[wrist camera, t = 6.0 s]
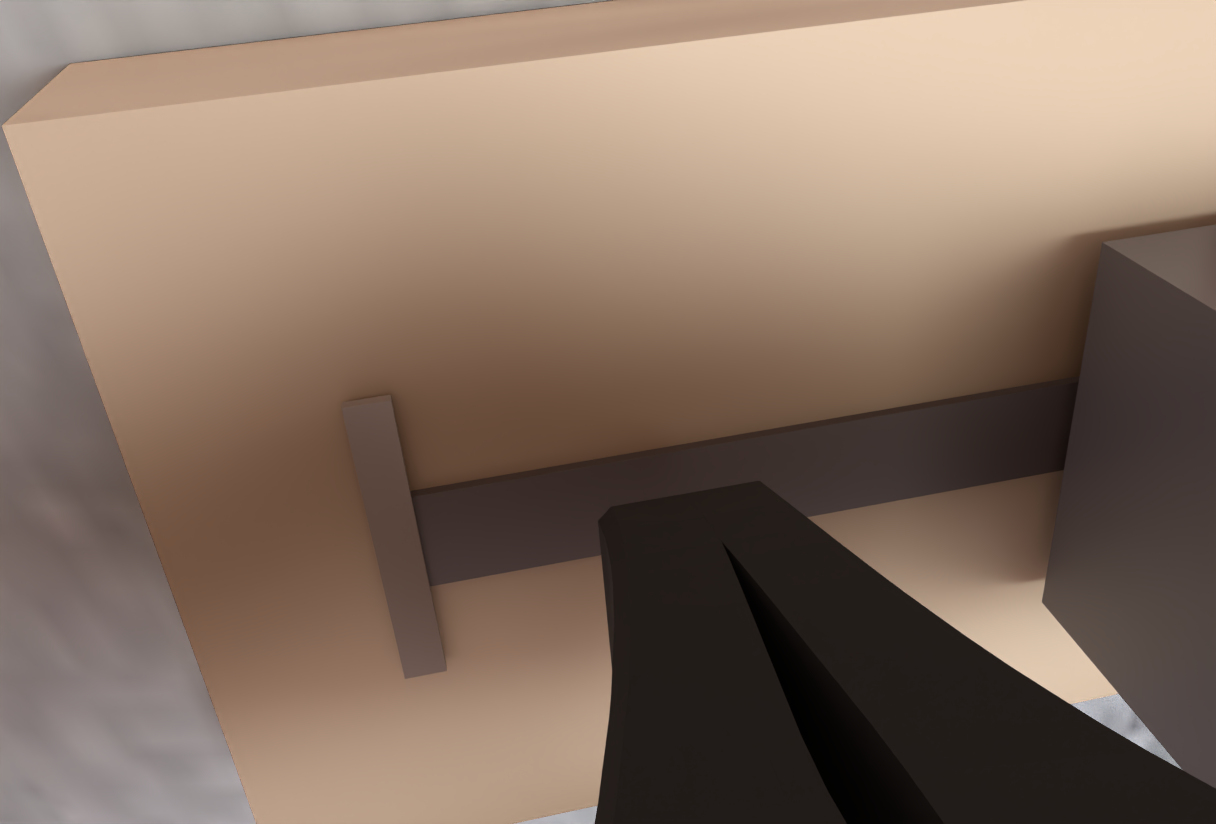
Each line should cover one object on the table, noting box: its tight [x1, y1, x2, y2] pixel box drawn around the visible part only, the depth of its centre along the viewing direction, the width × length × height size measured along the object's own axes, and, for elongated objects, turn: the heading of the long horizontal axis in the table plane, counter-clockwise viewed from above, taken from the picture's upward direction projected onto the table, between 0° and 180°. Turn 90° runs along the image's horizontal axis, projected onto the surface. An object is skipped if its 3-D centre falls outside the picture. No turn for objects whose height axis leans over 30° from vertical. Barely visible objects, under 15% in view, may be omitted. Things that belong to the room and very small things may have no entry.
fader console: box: [2, 0, 1216, 824], centre depth 11 cm, size 8×14×2 cm, turn 94°
